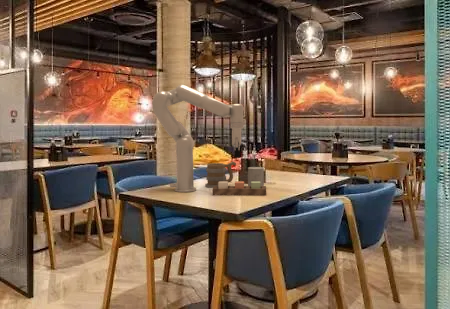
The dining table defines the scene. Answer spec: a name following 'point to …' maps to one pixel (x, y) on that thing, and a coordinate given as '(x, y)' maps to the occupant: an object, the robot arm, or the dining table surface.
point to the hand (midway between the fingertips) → (237, 157)
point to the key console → (239, 191)
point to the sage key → (255, 184)
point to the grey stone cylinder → (256, 175)
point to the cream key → (223, 184)
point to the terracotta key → (239, 184)
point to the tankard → (218, 173)
